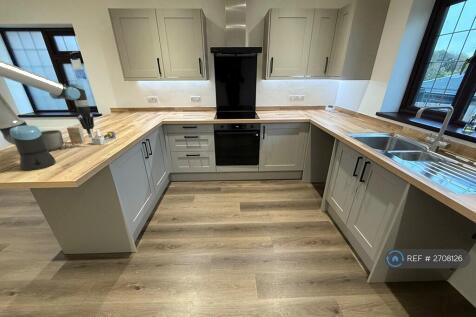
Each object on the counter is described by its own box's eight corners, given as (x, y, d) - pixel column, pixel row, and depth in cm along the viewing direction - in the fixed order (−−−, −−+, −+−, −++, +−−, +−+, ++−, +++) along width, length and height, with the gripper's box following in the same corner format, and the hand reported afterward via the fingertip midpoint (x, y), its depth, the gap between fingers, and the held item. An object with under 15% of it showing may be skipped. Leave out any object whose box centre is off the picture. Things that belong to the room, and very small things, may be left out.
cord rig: (101, 144, 155) (99, 137, 152) (92, 144, 155) (90, 137, 153) (117, 138, 173) (116, 131, 170) (109, 137, 173) (107, 131, 171)
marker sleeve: (102, 142, 157) (99, 130, 153) (96, 141, 157) (93, 130, 154) (104, 141, 160) (102, 130, 156) (99, 140, 160) (96, 129, 157)
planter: (36, 151, 140) (29, 133, 135) (59, 145, 152) (53, 129, 147) (48, 153, 135) (41, 135, 130) (70, 147, 147) (65, 131, 142)
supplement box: (71, 143, 156) (66, 127, 152) (74, 142, 161) (69, 126, 156) (83, 143, 159) (78, 127, 154) (85, 141, 163) (81, 126, 158)
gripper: (79, 107, 134) (89, 139, 143) (94, 105, 146) (102, 135, 155) (69, 107, 135) (80, 139, 144) (85, 104, 147) (93, 135, 156)
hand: (91, 137), depth 150 cm, fingers closed
